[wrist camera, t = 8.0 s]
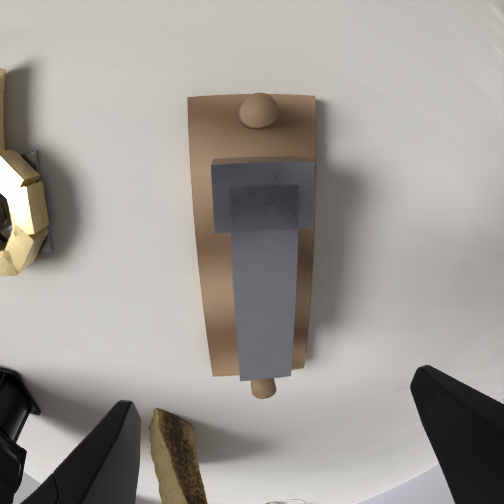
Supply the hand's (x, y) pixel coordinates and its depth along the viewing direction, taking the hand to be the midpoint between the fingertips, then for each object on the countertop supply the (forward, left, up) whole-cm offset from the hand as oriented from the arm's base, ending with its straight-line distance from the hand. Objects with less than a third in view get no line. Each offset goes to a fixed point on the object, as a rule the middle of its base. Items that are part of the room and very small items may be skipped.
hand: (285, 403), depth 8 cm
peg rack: (0, 0, -12) cm, 12 cm away
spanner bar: (-1, 0, -11) cm, 11 cm away
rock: (-21, +9, -12) cm, 26 cm away
